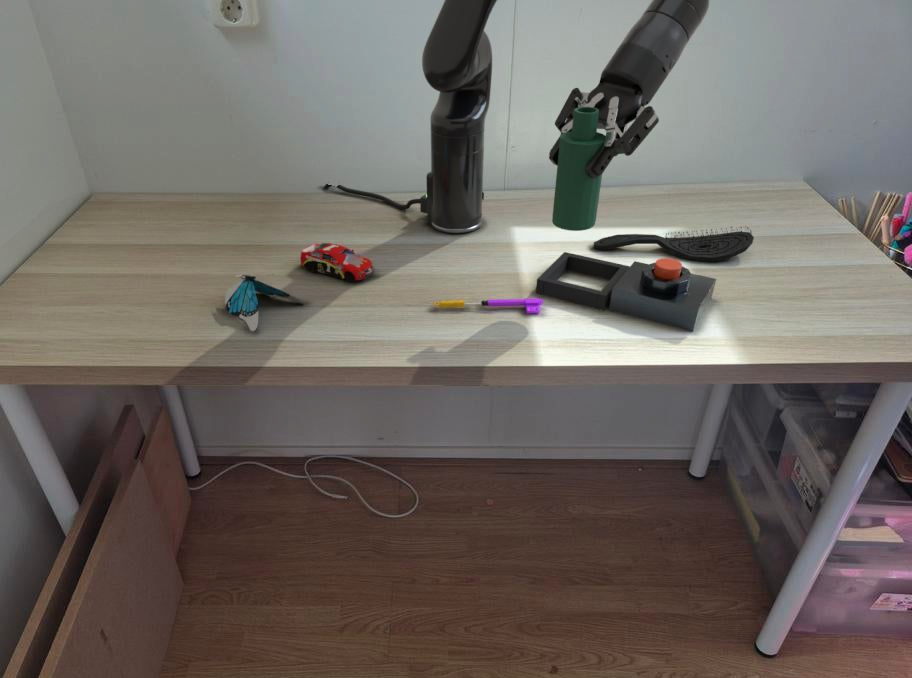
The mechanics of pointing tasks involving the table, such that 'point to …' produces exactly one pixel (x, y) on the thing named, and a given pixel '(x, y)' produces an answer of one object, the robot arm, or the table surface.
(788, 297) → the table surface
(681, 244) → the hairbrush
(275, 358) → the table surface
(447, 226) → the robot arm
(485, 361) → the table surface
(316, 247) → the race car
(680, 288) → the panel with orange knob
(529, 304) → the purple yellow slender tool
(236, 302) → the decorative butterfly
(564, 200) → the vase
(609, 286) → the dock
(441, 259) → the table surface
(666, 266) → the button
